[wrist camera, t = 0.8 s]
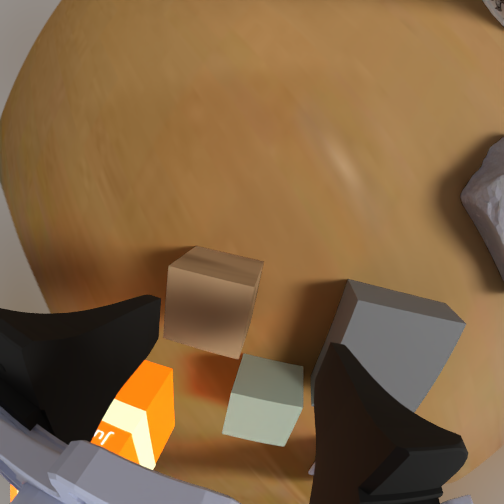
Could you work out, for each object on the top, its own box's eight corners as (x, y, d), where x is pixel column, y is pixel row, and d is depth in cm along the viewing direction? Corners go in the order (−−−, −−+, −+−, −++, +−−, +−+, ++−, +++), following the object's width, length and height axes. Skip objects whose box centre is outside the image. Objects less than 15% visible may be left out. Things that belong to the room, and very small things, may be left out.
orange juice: (174, 368, 24) (60, 550, 5) (176, 426, 26) (102, 571, 7) (103, 344, 25) (-27, 476, 6) (114, 403, 27) (25, 523, 8)
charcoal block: (400, 387, 22) (411, 416, 18) (310, 374, 22) (311, 406, 19) (443, 301, 19) (466, 323, 15) (347, 277, 20) (358, 299, 16)
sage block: (287, 406, 23) (284, 446, 19) (234, 394, 24) (221, 433, 19) (303, 365, 22) (303, 407, 17) (243, 352, 23) (231, 392, 18)
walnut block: (250, 322, 22) (238, 359, 17) (189, 306, 22) (163, 337, 17) (264, 261, 20) (254, 287, 16) (196, 245, 21) (168, 265, 16)
